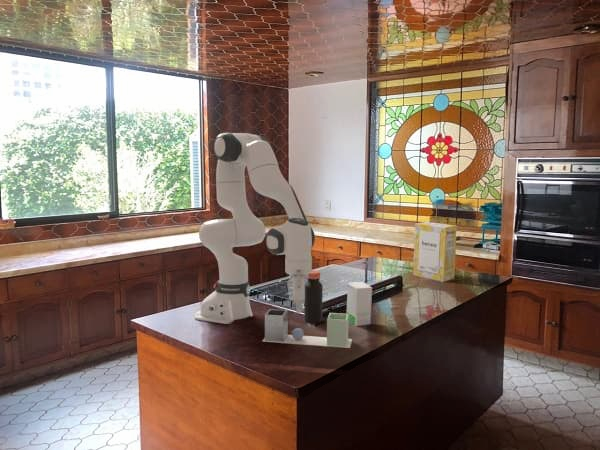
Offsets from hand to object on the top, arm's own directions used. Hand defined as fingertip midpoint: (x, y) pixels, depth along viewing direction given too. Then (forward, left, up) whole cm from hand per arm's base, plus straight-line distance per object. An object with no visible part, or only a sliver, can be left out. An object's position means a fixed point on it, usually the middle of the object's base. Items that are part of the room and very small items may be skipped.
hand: (299, 308), depth 159 cm
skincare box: (+19, +22, -13) cm, 32 cm away
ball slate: (0, 0, -11) cm, 11 cm away
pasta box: (+53, +103, -13) cm, 117 cm away
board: (+3, 0, -12) cm, 13 cm away
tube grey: (-8, 0, -11) cm, 14 cm away
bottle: (+2, +20, -13) cm, 24 cm away
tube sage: (+13, 0, -11) cm, 17 cm away
